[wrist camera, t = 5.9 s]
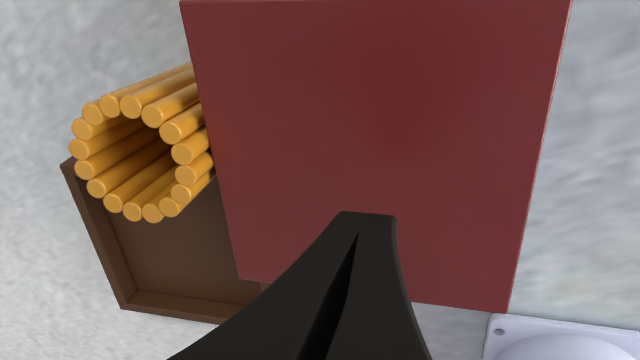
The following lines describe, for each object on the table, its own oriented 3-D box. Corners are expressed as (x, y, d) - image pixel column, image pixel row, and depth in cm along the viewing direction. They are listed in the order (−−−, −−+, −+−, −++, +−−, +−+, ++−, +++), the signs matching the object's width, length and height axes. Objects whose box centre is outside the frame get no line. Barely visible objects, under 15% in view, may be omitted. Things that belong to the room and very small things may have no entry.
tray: (287, 312, 27) (278, 334, 26) (135, 290, 30) (120, 309, 28) (264, 161, 22) (251, 180, 20) (80, 149, 24) (58, 165, 23)
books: (493, 216, 20) (505, 324, 15) (287, 198, 23) (240, 287, 18) (538, -61, 15) (579, -29, 10) (255, -47, 17) (173, -16, 12)
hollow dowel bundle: (167, 81, 13) (45, 107, 14) (214, 217, 14) (100, 230, 15) (252, 45, 19) (164, 65, 20) (279, 142, 20) (194, 155, 22)
